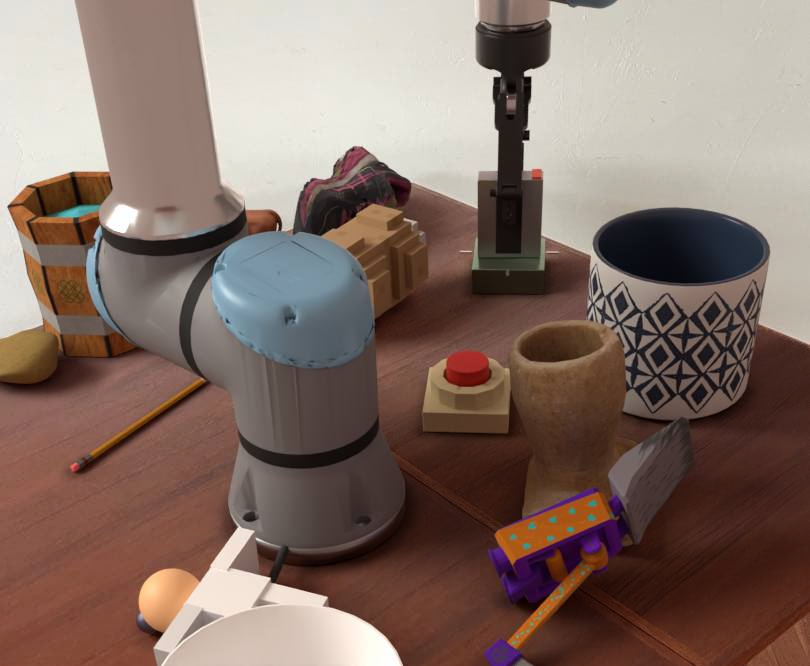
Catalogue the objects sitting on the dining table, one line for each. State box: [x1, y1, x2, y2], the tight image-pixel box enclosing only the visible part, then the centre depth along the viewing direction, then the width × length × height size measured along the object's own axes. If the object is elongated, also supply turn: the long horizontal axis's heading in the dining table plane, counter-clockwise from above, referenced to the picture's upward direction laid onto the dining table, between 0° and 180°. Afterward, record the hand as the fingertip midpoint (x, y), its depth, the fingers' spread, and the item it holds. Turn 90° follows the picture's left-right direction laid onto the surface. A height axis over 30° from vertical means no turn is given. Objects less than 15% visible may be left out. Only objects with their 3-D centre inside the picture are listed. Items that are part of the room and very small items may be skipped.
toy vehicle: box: [483, 417, 696, 666], centre depth 83 cm, size 9×21×15 cm
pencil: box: [70, 377, 207, 473], centre depth 109 cm, size 19×1×1 cm, turn 145°
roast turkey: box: [321, 204, 430, 320], centre depth 121 cm, size 10×18×10 cm, turn 145°
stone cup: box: [507, 319, 639, 548], centre depth 93 cm, size 15×12×15 cm
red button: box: [446, 350, 489, 387], centre depth 106 cm, size 4×4×2 cm
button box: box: [421, 356, 511, 434], centre depth 108 cm, size 8×8×4 cm
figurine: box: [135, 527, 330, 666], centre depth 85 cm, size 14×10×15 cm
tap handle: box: [477, 168, 544, 258], centre depth 124 cm, size 7×2×9 cm, turn 85°
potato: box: [0, 328, 59, 385], centre depth 116 cm, size 7×8×8 cm
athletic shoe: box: [292, 145, 412, 237], centre depth 135 cm, size 11×22×12 cm
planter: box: [585, 206, 771, 421], centre depth 107 cm, size 16×16×14 cm
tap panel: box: [458, 236, 560, 295], centre depth 128 cm, size 11×11×3 cm
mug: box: [6, 171, 138, 358], centre depth 120 cm, size 20×14×15 cm
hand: (509, 225), depth 125 cm, fingers open, 12 cm apart
